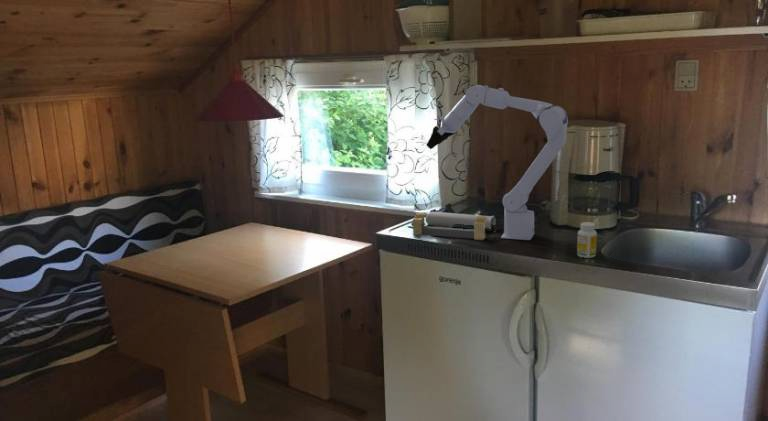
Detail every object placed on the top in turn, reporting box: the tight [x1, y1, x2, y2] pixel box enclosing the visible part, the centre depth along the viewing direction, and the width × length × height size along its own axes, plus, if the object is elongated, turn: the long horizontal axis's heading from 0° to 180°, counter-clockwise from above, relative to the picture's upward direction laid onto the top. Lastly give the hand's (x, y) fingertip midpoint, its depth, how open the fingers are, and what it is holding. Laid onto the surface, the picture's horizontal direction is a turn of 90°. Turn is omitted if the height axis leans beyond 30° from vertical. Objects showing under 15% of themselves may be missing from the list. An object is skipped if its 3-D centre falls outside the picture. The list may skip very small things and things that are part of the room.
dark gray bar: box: [422, 225, 486, 240], centre depth 212 cm, size 24×2×2 cm, turn 67°
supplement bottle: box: [576, 221, 598, 259], centre depth 186 cm, size 5×5×10 cm
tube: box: [424, 211, 496, 229], centre depth 222 cm, size 5×5×25 cm
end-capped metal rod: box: [412, 211, 488, 241], centre depth 212 cm, size 24×6×6 cm, turn 67°
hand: (432, 144), depth 214 cm, fingers open, 7 cm apart
